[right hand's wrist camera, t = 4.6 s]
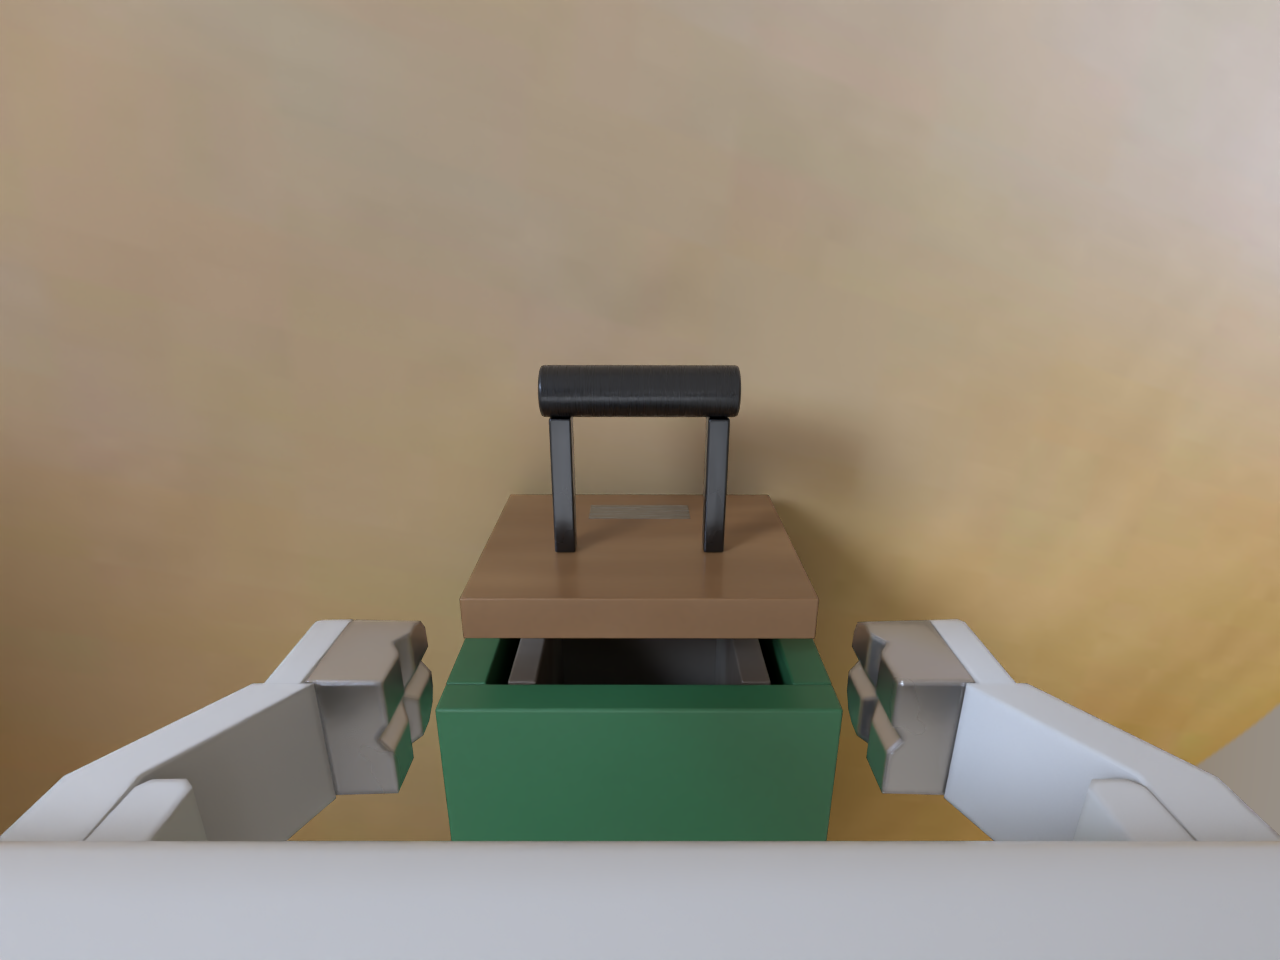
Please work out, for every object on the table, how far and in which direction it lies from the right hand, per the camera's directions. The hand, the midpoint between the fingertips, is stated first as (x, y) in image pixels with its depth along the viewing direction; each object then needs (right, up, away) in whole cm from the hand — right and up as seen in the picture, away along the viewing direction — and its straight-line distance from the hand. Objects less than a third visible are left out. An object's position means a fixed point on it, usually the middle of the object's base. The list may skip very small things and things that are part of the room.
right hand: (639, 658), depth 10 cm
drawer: (0, -3, +16) cm, 16 cm away
